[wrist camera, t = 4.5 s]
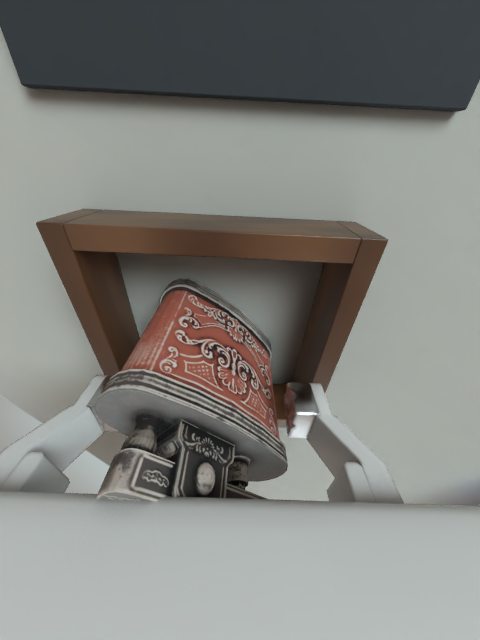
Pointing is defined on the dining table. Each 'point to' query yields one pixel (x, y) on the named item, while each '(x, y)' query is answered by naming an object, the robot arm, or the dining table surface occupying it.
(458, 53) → the mat
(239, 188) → the dining table surface
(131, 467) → the lighter
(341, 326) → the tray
